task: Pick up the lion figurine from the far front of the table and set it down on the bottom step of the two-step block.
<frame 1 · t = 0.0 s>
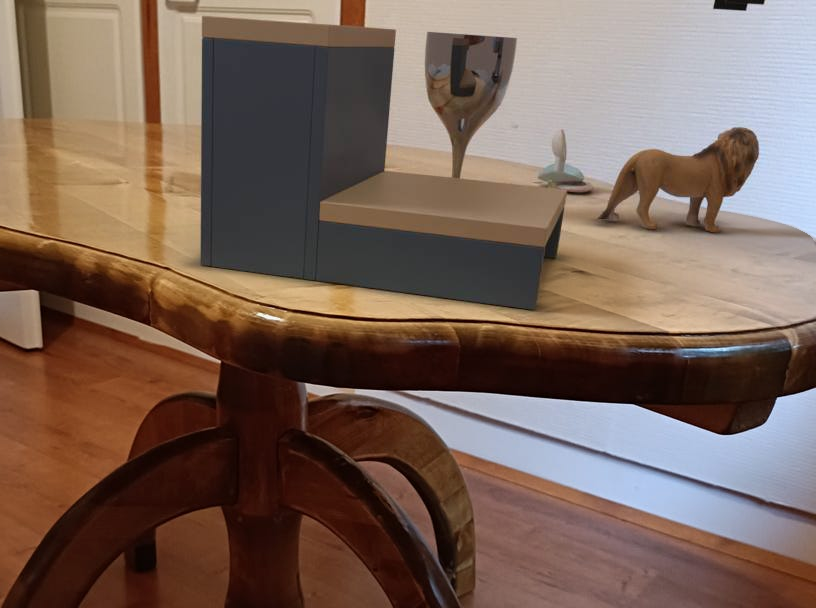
hand: (736, 7, 78), 18 cm above the table, tool pointing down, fingers open, 13 cm apart
two-step block: (391, 260, 68), on the table
lion figurine: (671, 228, 89), on the table
wine glass: (452, 210, 90), on the table
pacifier: (564, 191, 107), on the table
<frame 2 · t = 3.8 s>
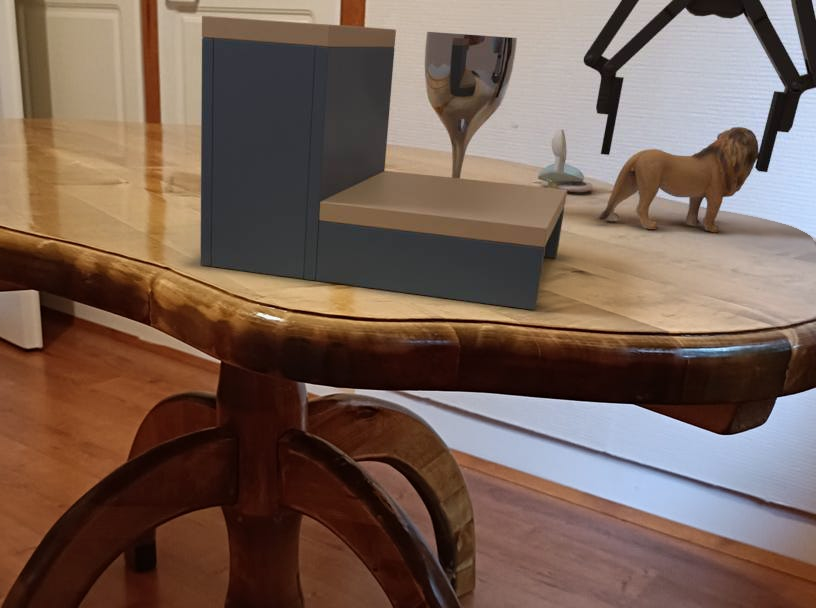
hand: (681, 161, 87), 6 cm above the table, tool pointing down, fingers open, 13 cm apart
lion figurine: (671, 228, 89), on the table, touching gripper
everything else where it was.
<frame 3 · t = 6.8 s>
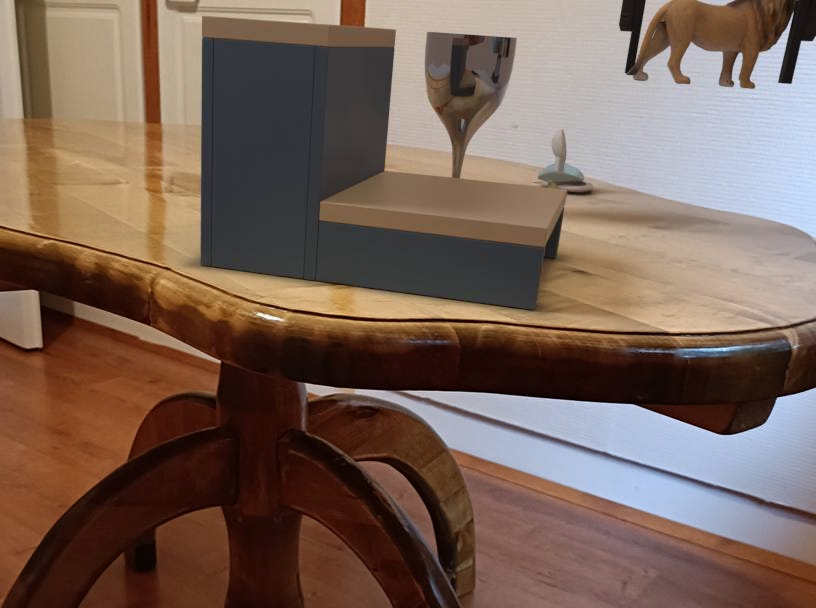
hand: (705, 78, 84), 13 cm above the table, tool pointing down, fingers closed on lion figurine, 12 cm apart
lion figurine: (703, 88, 84), point 12 cm above the table, touching gripper
everything else where it was.
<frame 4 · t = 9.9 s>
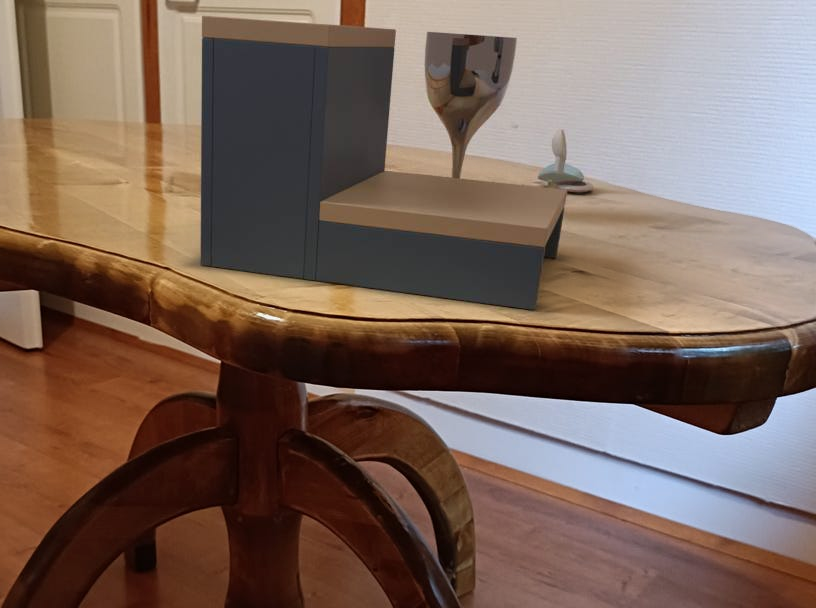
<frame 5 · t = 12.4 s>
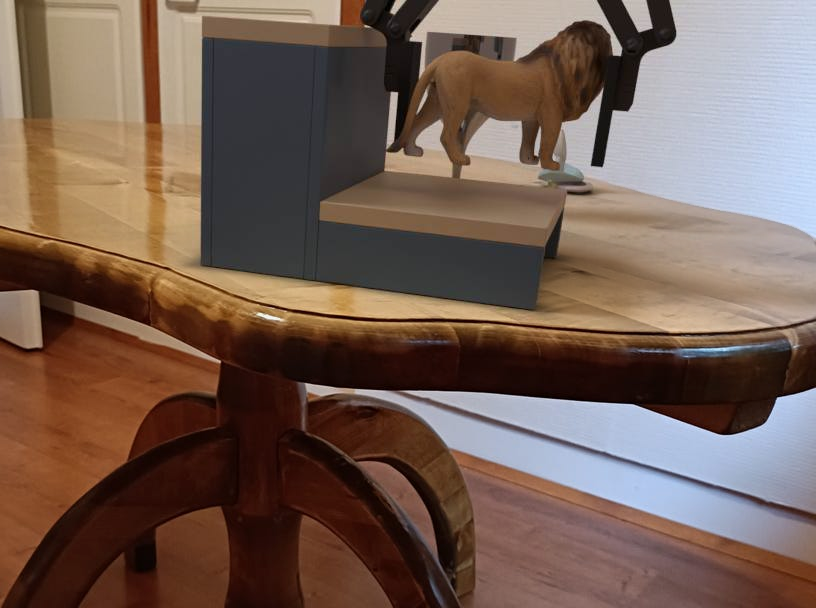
hand: (497, 155, 63), 8 cm above the table, tool pointing down, fingers closed on lion figurine, 12 cm apart
lion figurine: (496, 167, 64), point 7 cm above the table, touching gripper
everything else where it was.
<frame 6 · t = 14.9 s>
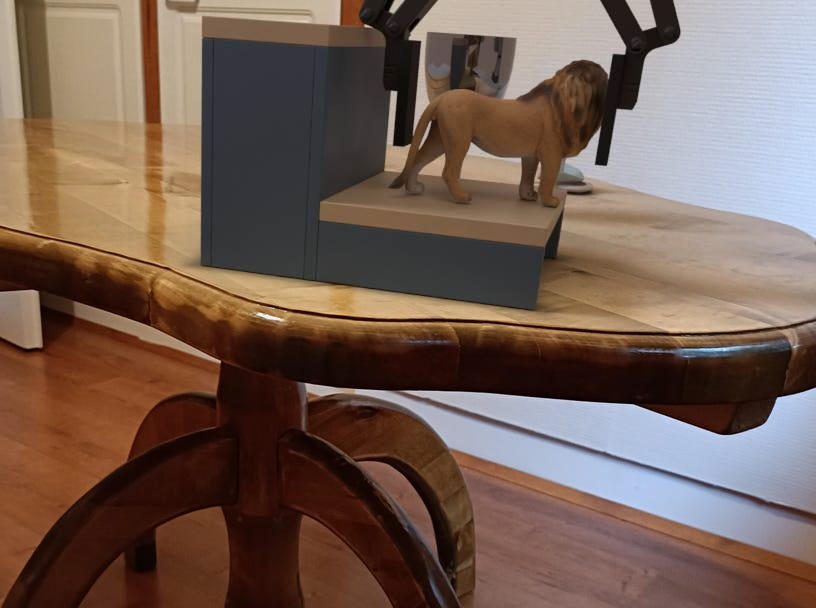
hand: (499, 154, 63), 8 cm above the table, tool pointing down, fingers closed on lion figurine, 12 cm apart
lion figurine: (497, 202, 65), point 5 cm above the table, touching gripper, two-step block
everything else where it was.
when the fingers open (8 cm above the table, at t = 14.9 s): lion figurine stays where it is, resting on two-step block.
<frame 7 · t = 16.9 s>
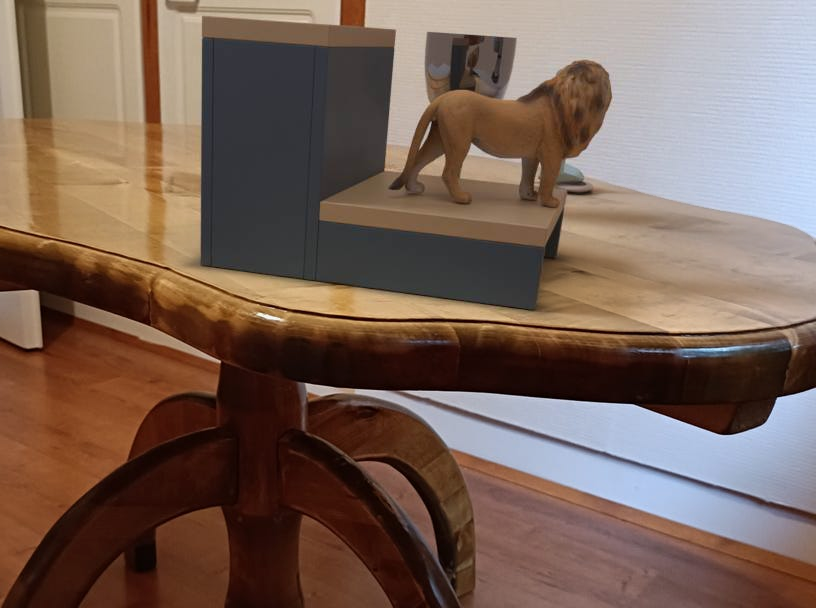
lion figurine: (496, 202, 65), point 5 cm above the table, touching two-step block
everything else where it was.
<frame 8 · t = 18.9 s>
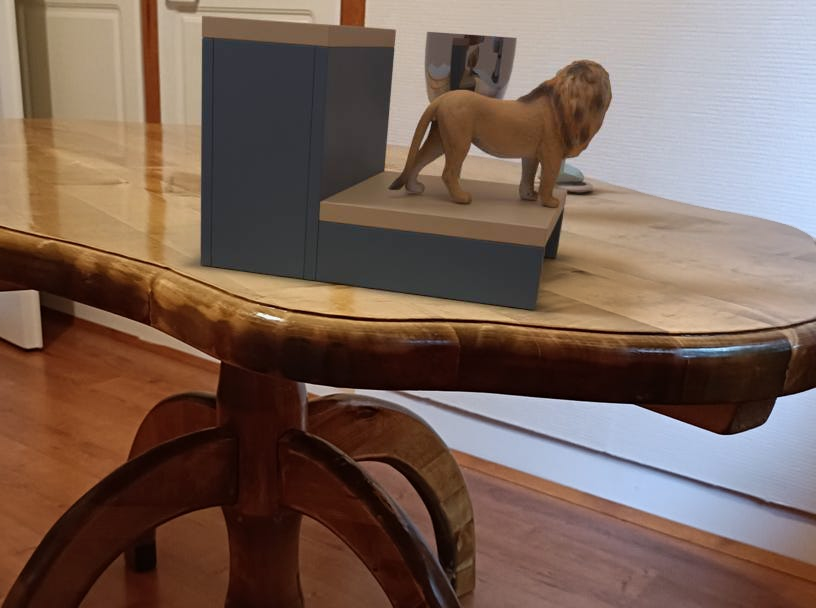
nothing on the table moved.
at the end: lion figurine inside the target area on the two-step block (2.9 cm from its centre), point 4.8 cm above the two-step block's base; the gripper is holding nothing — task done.
